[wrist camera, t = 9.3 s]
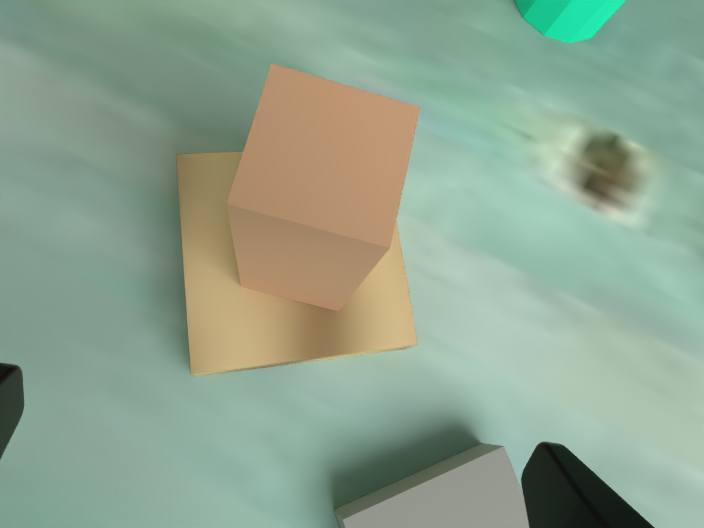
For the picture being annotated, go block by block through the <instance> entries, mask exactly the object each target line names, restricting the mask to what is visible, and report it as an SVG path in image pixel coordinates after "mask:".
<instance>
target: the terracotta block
mask: <svg viewBox="0 0 704 528" xmlns="http://www.w3.org/2000/svg"><path fill="white" fill-rule="evenodd" d="M419 110H420V107H417V106H413V105H410V104H407V103H403V102H400V101H397V100H393V99H390V98H387V97H383V96H380V95H377V94H373V93H370V92H367V91H363V90H360V89H357V88H353V87H350V86H347V85H343V84H340V83H337V82H333V81H330V80H326V79H323V78H320V77H316V76H313V75H310V74H306V73H303V72H300V71H296V70H293V69H290V68H286V67H283V66H280V65H276V64H273V63H271V66H270V69H269V72H268V75H267V79H266V82H265V85H264V88H263V91H262V94H261V97H260V100H259V104H258V107H257V110H256V113H255V116H254V119H253V122H252V125H251V129H250V132H249V135H248V138H247V141H246V144H245V147H244V150H243V154H242V157H241V160H240V163H239V166H238V169H237V172H236V175H235V179H234V182H233V185H232V188H231V191H230V194H229V197H228V200H227V210H228V215H229V221H230V227H231V232H232V238H233V244H234V249H235V255H236V260H237V266H238V272H239V277H240V283H241V287H244V288H248V289H252V290H256V291H260V292H264V293H267V294H271V295H275V296H279V297H283V298H287V299H291V300H295V301H299V302H303V303H307V304H311V305H314V306H318V307H322V308H326V309H330V310H334V311H339V310H340V309H341V308H342V306H343V305H344V304H345V303H346V302H347V300H348V299H349V298H350V297H351V295H352V294H353V293H354V292H355V290H356V289H357V288H358V287H359V286H360V284H361V283H362V282H363V281H364V279H365V278H366V277H367V276H368V275H369V273H370V272H371V271H372V270H373V268H374V267H375V266H376V265H377V263H378V262H379V261H380V260H381V259H382V257H383V256H384V255H385V254H386V252H387V251H388V250H389V249H390V246H391V241H392V237H393V232H394V227H395V223H396V218H397V213H398V209H399V204H400V199H401V195H402V190H403V185H404V181H405V176H406V171H407V167H408V162H409V157H410V152H411V148H412V143H413V138H414V134H415V129H416V124H417V120H418V115H419Z"/></svg>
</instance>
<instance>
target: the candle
mask: <svg viewBox="0 0 704 528" xmlns="http://www.w3.org/2000/svg"><path fill="white" fill-rule="evenodd" d="M625 1H626V0H515V2H516V4H517V6H518V8H519V10H520V12H521V15H522V17H523V18H524V19H525V20H526V21H527V22H528V23H530V24H531V25H532V26H533V27H534V28H536V29H537V30H538V31H539V32H540V33H541V34H543V35H544V36H547V37H550V38H554V39H557V40H560V41H564V42H567V43H571V42H576V41H581V40H586V39H590V38H591V37H592V36H593V35H594V34H595V33H596V32H597V31H598V30H599V29H600V28H601V26H602V25H603V24H604V23H605V22H606V21H607V20H608V19H609V18H610V17H611V16H612V15H613V14H614V12H615V11H616V10H617V9H618V8H619V7H620V6H621V5H622V4H623V3H624V2H625Z"/></svg>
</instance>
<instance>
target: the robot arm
mask: <svg viewBox="0 0 704 528" xmlns="http://www.w3.org/2000/svg"><path fill="white" fill-rule="evenodd" d="M23 409H24V392H23V376H22V370H21V368H20V367H19V366H17V365H13V364H7V363H0V459H1V457H2V455H3V453H4V451H5V449H6V447H7V445H8V443H9V441H10V439H11V437H12V435H13V433H14V431H15V429H16V427H17V425H18V423H19V421H20V418H21V416H22V413H23ZM521 483H522V490H523V496H524V501H525V507H526V512H527V518H528V523H529V528H654V527H653V526H652V525H651V524H650V523H649V522H648V521H647V520H645V519H644V518H643V517H642V516H641V515H640V514H639V513H638V512H637V511H636V510H634V509H633V508H632V507H631V506H630V505H629V504H628V503H627V502H626V501H625V500H623V499H622V498H621V497H620V496H619V495H618V494H617V493H616V492H615V491H614V490H612V489H611V488H610V487H609V486H608V485H607V484H606V483H605V482H604V481H603V480H601V479H600V478H599V477H598V476H597V475H596V474H595V473H594V472H593V471H592V470H590V469H589V468H588V467H587V466H586V465H585V464H584V463H583V462H582V461H581V460H579V459H578V458H577V457H576V456H575V455H574V454H573V453H572V452H571V451H570V450H568V449H567V448H566V447H565V446H564V445H561V444H558V443H551V442H541V443H539V444H538V445H537V446H536V448H535V450H534V452H533V453H532V455H531V457H530V459H529V461H528V463H527V464H526V466H525V468H524V470H523V473H522V478H521Z"/></svg>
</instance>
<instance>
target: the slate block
mask: <svg viewBox="0 0 704 528" xmlns="http://www.w3.org/2000/svg"><path fill="white" fill-rule="evenodd" d="M334 513H335V516H336V519H337V522H338V525H339V528H529V523H528V518H527V512H526V507H525V501H524V496H523V493H522V490H521V488H520V485H519V483H518V480H517V478H516V475H515V473H514V470H513V468H512V465H511V463H510V461H509V458H508V456H507V453H506V451H505V448H504V446H498V445H491V444H483V443H481V444H479V445H476V446H474V447H472V448H470V449H468V450H465V451H463V452H461V453H459V454H456V455H454V456H452V457H450V458H447V459H445V460H443V461H441V462H439V463H436V464H434V465H432V466H430V467H427V468H425V469H423V470H421V471H418V472H416V473H414V474H412V475H410V476H407V477H405V478H403V479H401V480H398V481H396V482H394V483H392V484H389V485H387V486H385V487H383V488H381V489H378V490H376V491H374V492H372V493H369V494H367V495H365V496H363V497H360V498H358V499H356V500H354V501H352V502H349V503H347V504H345V505H343V506H340V507H338V508H336V509H334Z"/></svg>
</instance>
